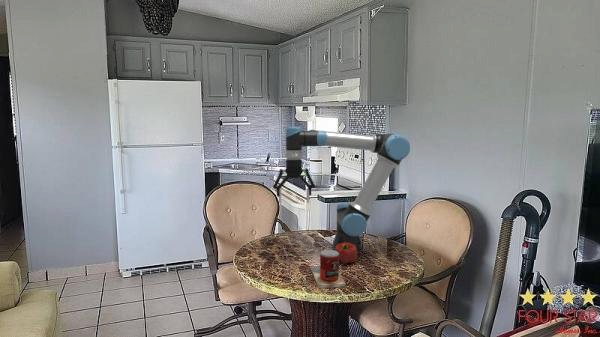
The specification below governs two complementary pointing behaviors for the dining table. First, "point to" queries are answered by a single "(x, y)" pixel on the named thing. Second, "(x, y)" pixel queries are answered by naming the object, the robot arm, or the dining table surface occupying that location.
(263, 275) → the dining table surface
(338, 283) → the board
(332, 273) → the canned food
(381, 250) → the dining table surface
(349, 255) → the red apple
